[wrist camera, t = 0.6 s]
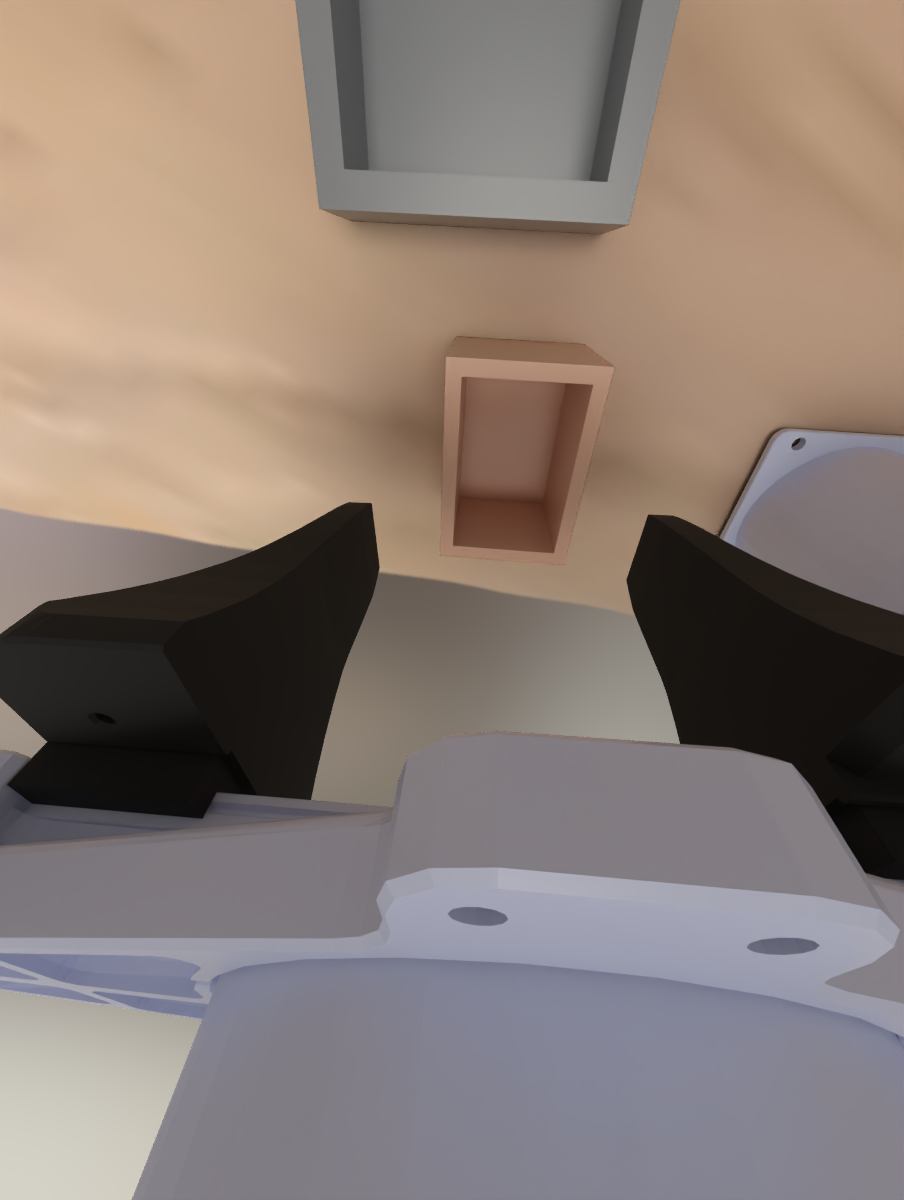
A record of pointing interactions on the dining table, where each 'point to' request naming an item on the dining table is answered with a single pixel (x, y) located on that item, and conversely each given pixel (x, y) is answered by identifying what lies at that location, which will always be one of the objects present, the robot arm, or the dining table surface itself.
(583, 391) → the small crate
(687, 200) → the dining table surface
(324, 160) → the large crate
